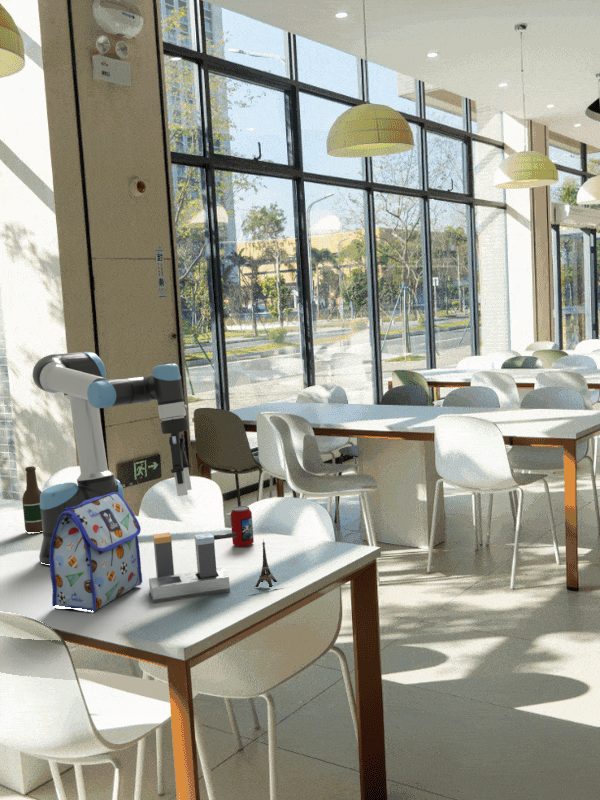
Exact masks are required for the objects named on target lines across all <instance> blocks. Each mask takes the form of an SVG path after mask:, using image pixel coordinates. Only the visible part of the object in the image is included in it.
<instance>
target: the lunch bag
mask: <svg viewBox="0 0 600 800" xmlns="http://www.w3.org/2000/svg"><path fill="white" fill-rule="evenodd" d="M65 510H66V511H64V512H62V513H61V514H60V515H59V518H58V520H57V525H56V527H55V530H54V532H53V535H52V539H51V544H50V566H49V571H50V580H51V586H52V588H51V589H52V598H51V599H52V600H51V601H52V602H51V604H52V607H53V606H55V605H59V606H65V607H71V608H82V609H87V610H91V611H92V610H93V611H95V612H96V611H98V610H99V608H100V609H101V608H102V606H103V607H104V606H106V605H107V604H109V603H111V602H113V600H115V599H117V598H119V597H121V596H122V595H124V594H125V593H127V592H129V591H130V590H133V589H134V588H136V587H138V586H141V584H142V583H143V573H142V562H141V553H140V544H139V535H140V534H141V531H142V530H141V528H142V527H141V525H140V523H139V520H138V519H137V517H136V516H135V514H134V512H133V510H132V509H131V508H130V506H129V504H128V503H127V502H126V501H125V498H124V499H123V497H122V496H121V495H120V494H119V493H118V492H112V493H110V494H107V495H104V496H99V497H95V498H92V499H89V500H85V501H83V502H82V503H81V504H79V505H77V506H74V507H70V508H65ZM110 601H111V602H110ZM97 609H98V610H97Z"/></svg>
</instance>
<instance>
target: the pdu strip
mask: <svg viewBox="0 0 600 800" xmlns="http://www.w3.org/2000/svg"><path fill="white" fill-rule="evenodd" d="M233 537H236V533H232V532H229V533H228V532H227V533H223V534H222V533H221V534H215V535H213V534H212V532H210V533H202V534H194V542H195V543H194V544H195V545H194V546H195V555H196V566H197V567H196V568H197V569H196V570H197V571H192V572H186V573H178V574H174V575H170V576H163V577H157V576H156V577H151V578H150V577H149V578H148V584H149V594H150V597H151V600H152V604H159V603H164V602H172V601H177V600H185V599H191V598H199V597H204V596H211V595H217V594H223V593H230V592H231V584H230V576H229V575H228V573H227V572H226V570H225V569H224V567H218V568H217V559H216V549H215V548H216V547H215V540H217V541H218V540H223V539H232V538H233Z"/></svg>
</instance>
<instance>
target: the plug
mask: <svg viewBox="0 0 600 800" xmlns="http://www.w3.org/2000/svg"><path fill="white" fill-rule="evenodd" d="M152 539H153V546H154V547H153V548H154V560H155V571H156V577H163V576H170V575H175V570H174V569H175V567H174V557H173V554H174V553H173V546H172V544H173V543H172V539H173V538H172V535H171V532H162V533H156V534H152Z"/></svg>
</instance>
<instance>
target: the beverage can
mask: <svg viewBox="0 0 600 800" xmlns="http://www.w3.org/2000/svg"><path fill="white" fill-rule="evenodd" d="M231 509H232V510H231V512H230V525H231V526H230V527H231V533H236V537H233V538H231V539H232V544H233V546H235V547H237V548H246V546H247V547H249V545H250V546H251V545H252V544H254V527H253V515H252V512H253V511H251V509H250V506H246V505H245V506H244V505H241V506H235V507H232V508H231Z"/></svg>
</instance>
